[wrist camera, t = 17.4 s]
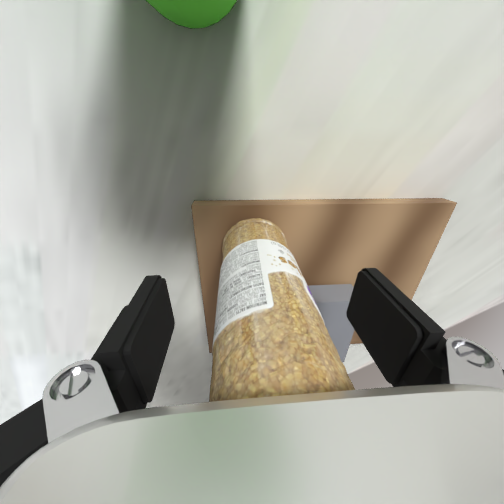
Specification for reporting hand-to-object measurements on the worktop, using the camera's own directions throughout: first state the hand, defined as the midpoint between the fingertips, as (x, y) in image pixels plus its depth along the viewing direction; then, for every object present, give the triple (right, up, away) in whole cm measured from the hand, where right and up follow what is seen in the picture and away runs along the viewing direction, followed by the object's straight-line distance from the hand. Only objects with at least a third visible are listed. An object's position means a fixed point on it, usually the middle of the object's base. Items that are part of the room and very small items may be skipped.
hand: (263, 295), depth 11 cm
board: (+4, 0, +8) cm, 9 cm away
